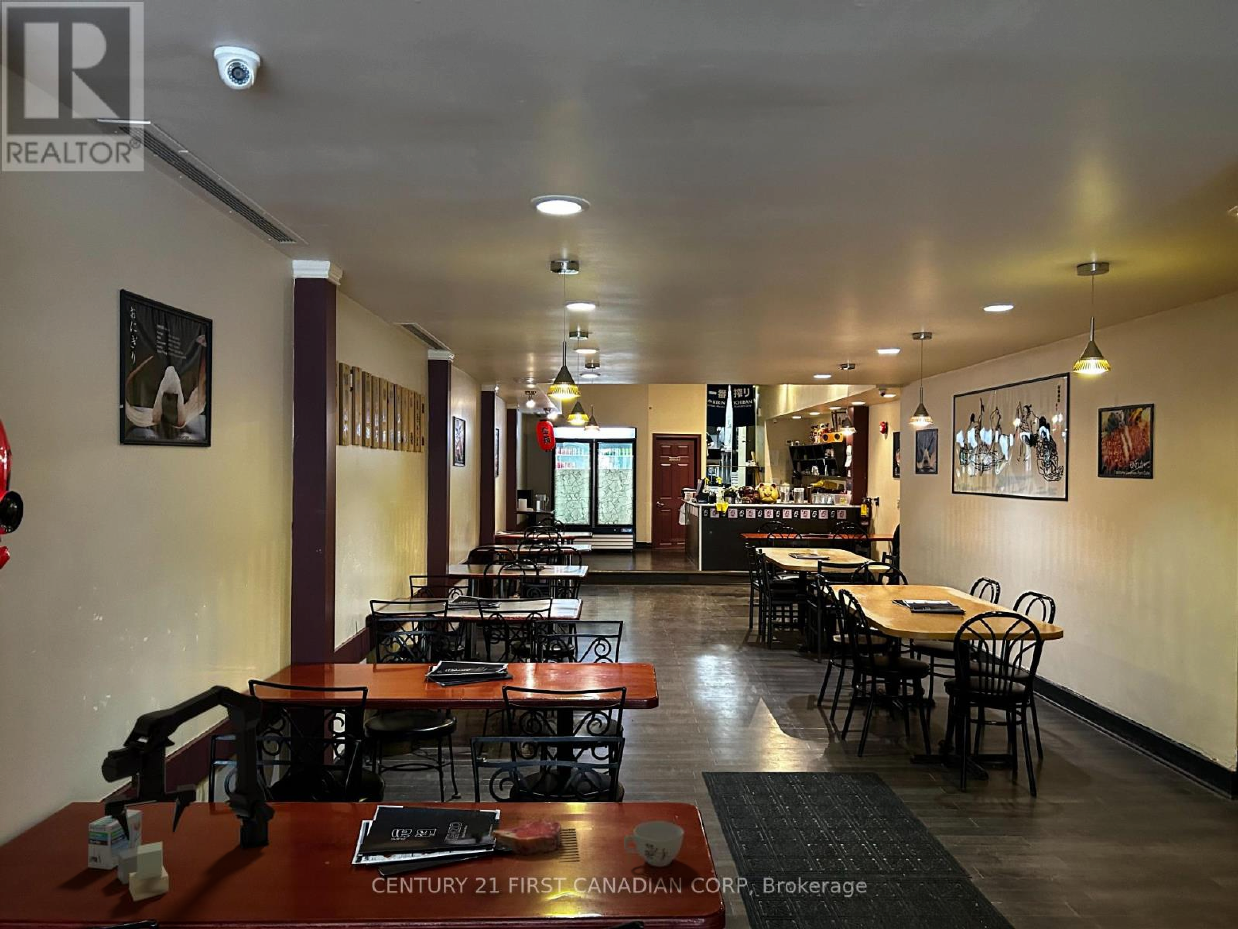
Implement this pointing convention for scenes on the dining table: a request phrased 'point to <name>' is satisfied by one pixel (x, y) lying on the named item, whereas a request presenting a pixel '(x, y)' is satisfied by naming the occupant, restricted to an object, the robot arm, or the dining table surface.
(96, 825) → the light bulb box
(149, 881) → the maple base
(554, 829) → the steak
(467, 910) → the dining table surface
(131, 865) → the grey block
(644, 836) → the teacup
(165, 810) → the dining table surface
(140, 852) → the sage block
